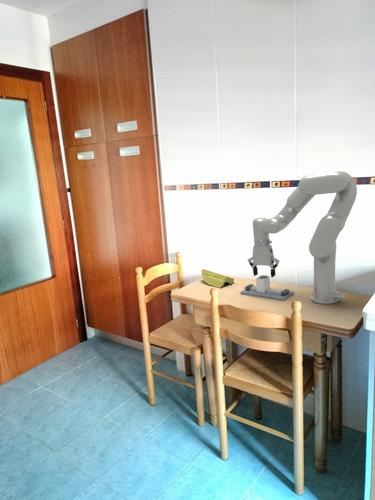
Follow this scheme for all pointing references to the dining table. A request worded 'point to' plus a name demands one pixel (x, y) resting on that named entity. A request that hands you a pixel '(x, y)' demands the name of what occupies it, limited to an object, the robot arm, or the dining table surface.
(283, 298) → the mounting plate
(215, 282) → the yellow-green curved piece
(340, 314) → the dining table surface
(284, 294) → the din rail
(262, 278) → the block
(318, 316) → the dining table surface
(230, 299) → the dining table surface
